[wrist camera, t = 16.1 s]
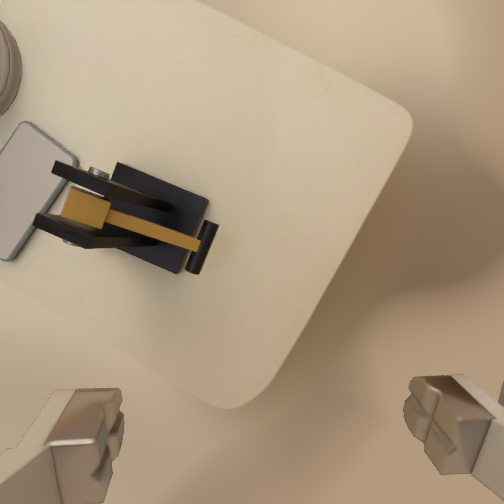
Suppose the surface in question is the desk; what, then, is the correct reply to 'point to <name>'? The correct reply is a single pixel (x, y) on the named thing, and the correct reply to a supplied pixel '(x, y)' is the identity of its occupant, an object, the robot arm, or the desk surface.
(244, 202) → the desk surface
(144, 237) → the switch bracket
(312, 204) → the desk surface
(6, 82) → the lantern
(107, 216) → the lever
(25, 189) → the smartphone
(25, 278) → the desk surface
